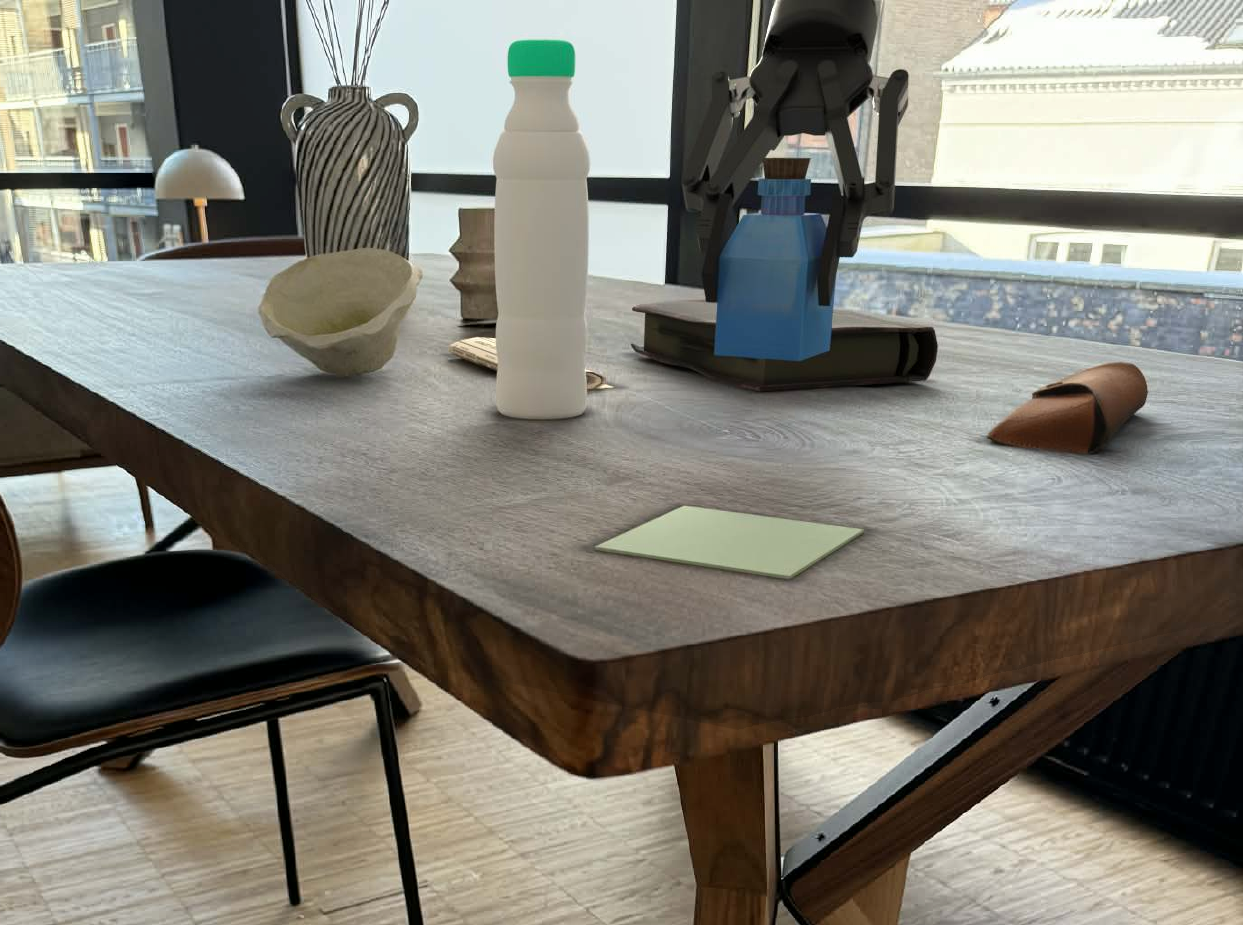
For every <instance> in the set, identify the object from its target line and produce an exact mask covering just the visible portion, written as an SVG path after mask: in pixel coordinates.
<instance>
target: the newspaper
mask: <svg viewBox="0 0 1243 925" xmlns="http://www.w3.org/2000/svg"><path fill="white" fill-rule="evenodd" d="M448 352H449V353H451V355H453V356H455V357H457V358H460V359H462V360H465V361H468V362H470V363H473V364H475V365H478V366H480V367H483V368H485V369H487V370H491V371H493V372H496V373H497V370H498V358H497V351H496V337H495V338H493V337H480V336H475V337H471V338H465V339H461V340H458V341H455V342H453V343H451V344H449V346H448ZM585 371H586V383H587V390H593V389H599V390H603V389H615V388H616V387H614V386H612V385H609V384H606V380H607V377H606V376H603V375H601V374H599V373H596V372H594V371H592V370H589V369H586V368H585Z"/></svg>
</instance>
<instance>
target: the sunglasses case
mask: <svg viewBox="0 0 1243 925" xmlns="http://www.w3.org/2000/svg"><path fill="white" fill-rule="evenodd" d="M1148 394H1149V391H1148V384H1147V380H1146V377H1145V375H1144V374H1143V372H1142V370H1141V369H1139V367H1138V366H1137V365H1135V364H1133V363H1131V362H1124V361H1123V362H1122V361H1118V362H1109V363H1108V362H1107V363H1102V364H1099V365H1094V366H1092V367H1088V368H1085V369H1082V370H1080V371H1077V372H1075V373H1073V374H1071V375H1068V376H1066V377H1064V378H1061V379H1058V380H1056V381H1054V382H1053V381H1052V382H1050V383H1047V384H1046V385H1044V386H1042V387H1040V388H1038V389H1036V390H1034V391H1033V392H1032V394H1031V399H1030V400H1028V401H1026V402H1025V403H1023V404H1021V405H1020V406H1018V407H1016V409H1014V410H1013V411H1012V412H1009V414H1008V415H1007V416H1005V418H1003V419H1002V420H1000V422H998V423H997V424H995V426H994V427H992V429H990V432H988V435H987V436H986V439H987V440H990V441H992V442H995V443H996V444H1000V445H1005V446H1009V447H1017V448H1018V447H1019V448H1028V449H1029V448H1030V449H1039V450H1049V451H1050V450H1051V451H1061V452H1069V453H1079V454H1088V455H1092V454H1094V453H1096V452H1098V450H1100V449H1101V448H1102V447H1103V446H1106V445H1107V444H1108V443H1109V442H1110V441H1111V440H1112V438H1113V437H1114V435H1115V434H1116V433H1117V432H1118V431H1119V430H1120V429H1121V427H1123V425H1124V424H1125V423H1126V422H1127V421H1129V419H1131V417H1132V416H1133V415H1135V414H1136V413H1137V412H1138V411H1139V410H1141V409H1142V408H1143V407H1144V406H1145V405H1146V402H1147V399H1148Z"/></svg>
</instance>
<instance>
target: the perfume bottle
mask: <svg viewBox="0 0 1243 925" xmlns="http://www.w3.org/2000/svg"><path fill="white" fill-rule="evenodd" d="M811 159H812V158H811V157H766V158H762V161H763V162H762V167H763V168H762V169H763V176H764V177H763V178H758V184H757V195H758V196H761V204H760V212H756V213H747V214H743V215H742V216H741V218H740V220H739V222H738V223H737V225H736V227H735V228H734V230H733V234H732V236H731V237H730V239H729V241H728V243H727V244H726V246H725V248H724V249H723V251H722V253H721V255H720V259H719V278H718V297H717V313H716V332H715V351H714V355H720V356H734V357H749V358H763V359H778V360H792V361H801V360H804V359H807V358H810V357H812V356H815V355H818V354H821V353H824V352H827V351H829V350H830V340H831V329H832V317H833V309H834V305H835V294H836V283H837V282H836V281H837V277H836V278H835V283H834V288H833V293H832V298H831V303H830V306H819V305H818V290H817V273H818V268H819V263H820V258H821V254H822V249H823V244H824V239H825V234H826V230H827V225H826V223H825V220H824V217H823V215H822V214H821V213H811V212H805V207H806V196H810V195H811V187H812V186H811V185H812V178H806V177H807V174H808V169H809V165H810V163H811Z"/></svg>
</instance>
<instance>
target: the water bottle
mask: <svg viewBox="0 0 1243 925" xmlns="http://www.w3.org/2000/svg"><path fill="white" fill-rule="evenodd" d="M507 73H508V77H510V80H509V83H510V84H511V86H512V87H513V90H514V100H513V102H512V104H511V105H512V106H511V108H510V109H509V112H507V115H506V117H505V120H504V126H503V131H502V132H500V134H499V135H500V136H499V137H498V140H497V143H496V145H495V148H494V151H493V157H492V168H493V169H492V170H493V172H494V176H495V178H496V181H495V193H494V194H495V196H494V214H493V215H494V217H493V218H494V220H493V222H494V223H493V226H494V228H493V229H494V230H493V235H494V236H493V239H494V240H493V241H494V242H493V245H494V247H493V250H494V279H495V280H494V281H495V295H496V296H495V297H496V305H497V313H498V314H497V318H496V325H495V339H496V351H497V358H498V370H497V372H496V384H495V404H496V410H497V411H498V412H499V414H501V415H503V416H506V417H509V418H513V419H515V418H516V419H523V420H559V419H561V420H562V419H569V418H575V417H579V416H581V415H582V414H583V413H584V412H585V411H586V409H587V403H588V402H587V401H588V400H587V399H588V389H587V383H586V371H585V369H586V356H587V350H588V326H587V319H586V306H587V297H588V296H587V295H588V282H589V281H588V280H589V279H588V278H589V277H588V276H589V254H590V253H589V252H590V251H589V249H590V248H589V247H590V246H589V244H590V218H589V216H590V212H589V192H588V181H587V178H588V177H589V174H590V169H591V156H590V151H589V148H588V145H587V143H586V140H585V137H584V135H583V132H581V131H579V130H580V125H579V124H580V123H579V120H578V117H577V115H576V113H575V111H574V110H573V107H572V105H571V102H570V99H569V98H570V97H569V93H570V92H569V91H570V88H571V86H572V85H573V84H574V80H573V78H574V77H575V73H576V52H575V47H574V46H573V44H572V43H571V42H570V41H567V40H562V39H545V38H544V39H542V38H541V39H540V38H539V39H519V40H515V41H513V42H512V43H511V44H510V45H509V47H508V52H507Z"/></svg>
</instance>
